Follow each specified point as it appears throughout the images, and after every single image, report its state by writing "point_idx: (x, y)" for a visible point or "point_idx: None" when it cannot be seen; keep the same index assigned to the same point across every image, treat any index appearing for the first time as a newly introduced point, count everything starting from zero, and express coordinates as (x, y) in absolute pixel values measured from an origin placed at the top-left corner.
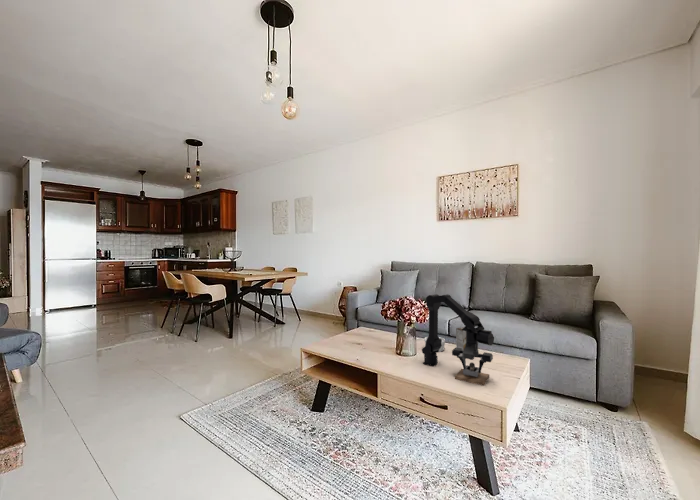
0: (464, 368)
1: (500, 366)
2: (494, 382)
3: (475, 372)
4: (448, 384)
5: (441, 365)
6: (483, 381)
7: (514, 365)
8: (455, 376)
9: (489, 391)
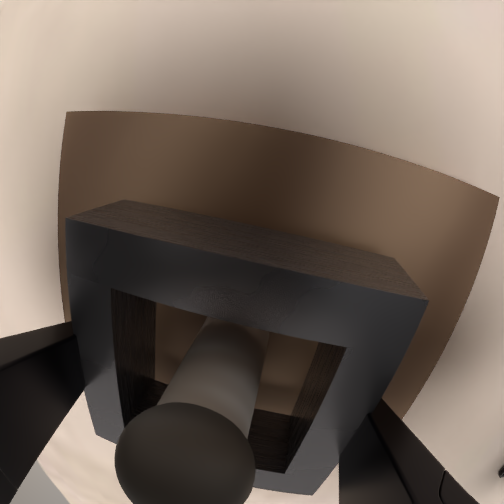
0: (385, 365)
1: (112, 497)
2: (34, 261)
3: (111, 221)
4: (497, 10)
5: (492, 457)
6: (72, 144)
7: (75, 492)
8: (488, 193)
9: (63, 13)
